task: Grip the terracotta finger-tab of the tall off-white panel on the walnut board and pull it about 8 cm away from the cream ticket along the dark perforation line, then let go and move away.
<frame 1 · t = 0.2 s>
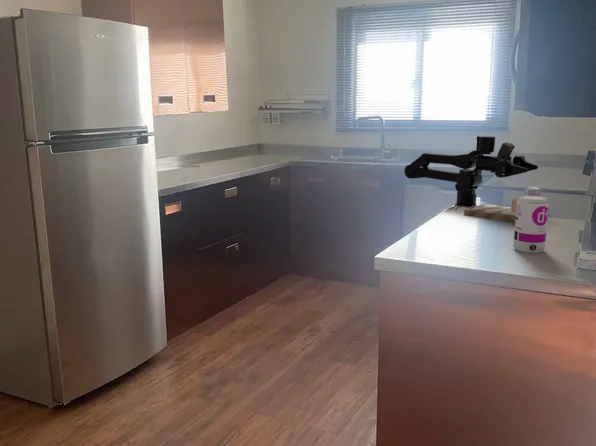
hand: (532, 168, 214), 17 cm above the worktop, tool horizontal, fingers open, 9 cm apart
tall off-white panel: (515, 205, 209), point 5 cm above the worktop, slide at 0.0 cm
supplement can: (528, 250, 167), on the worktop
medicine box: (531, 211, 225), on the worktop
ticket board: (502, 216, 213), on the worktop
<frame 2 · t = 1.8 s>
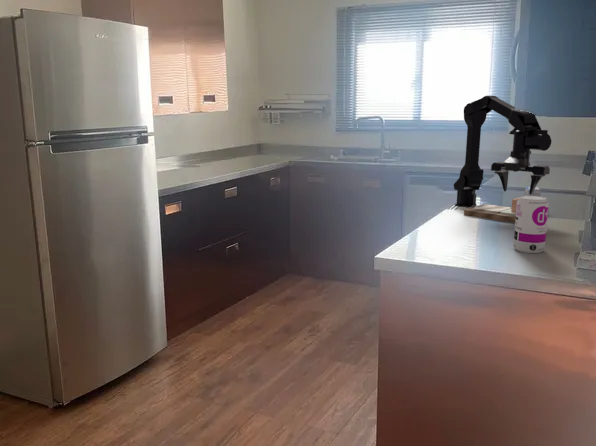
hand: (517, 192, 208), 9 cm above the worktop, tool pointing down, fingers open, 9 cm apart
nothing on the worktop moved.
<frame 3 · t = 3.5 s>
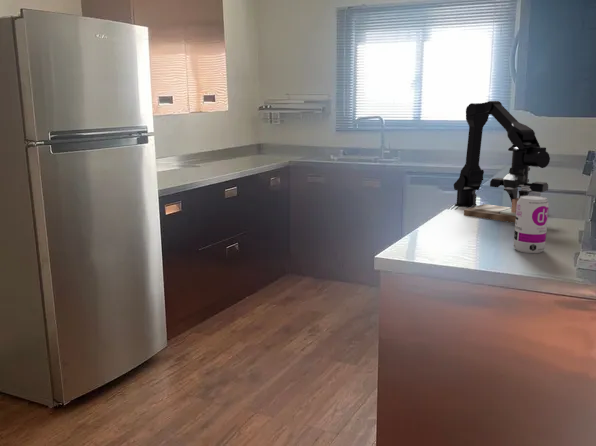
hand: (516, 208, 209), 3 cm above the worktop, tool pointing down, fingers closed on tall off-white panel
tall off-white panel: (515, 205, 209), point 5 cm above the worktop, slide at 0.0 cm, touching gripper
everything else where it was.
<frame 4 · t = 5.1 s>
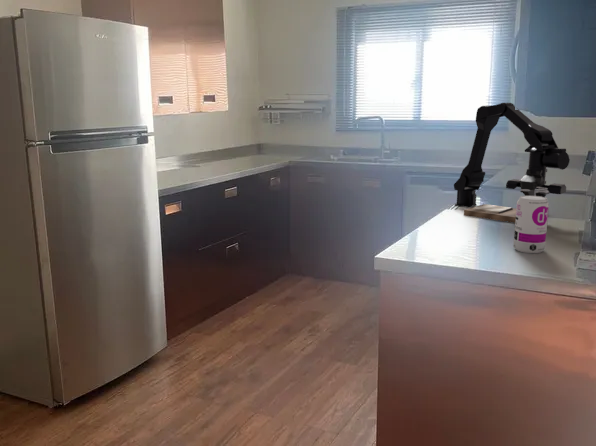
hand: (533, 211, 205), 3 cm above the worktop, tool pointing down, fingers closed on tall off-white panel
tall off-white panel: (532, 207, 205), point 5 cm above the worktop, slide at 5.9 cm, touching gripper
everything else where it was.
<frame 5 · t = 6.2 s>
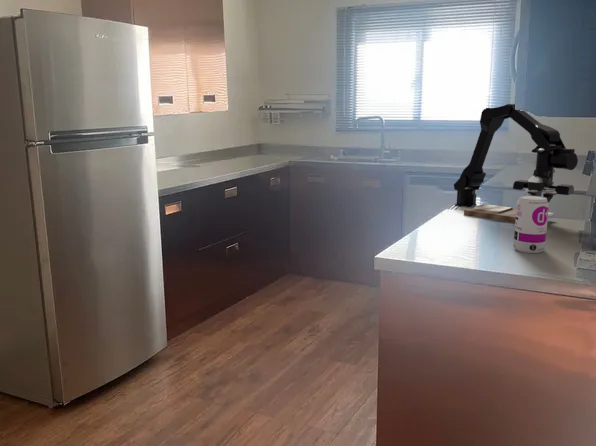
hand: (540, 212, 204), 3 cm above the worktop, tool pointing down, fingers closed on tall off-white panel
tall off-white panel: (539, 208, 204), point 5 cm above the worktop, slide at 8.4 cm, touching gripper
everything else where it was.
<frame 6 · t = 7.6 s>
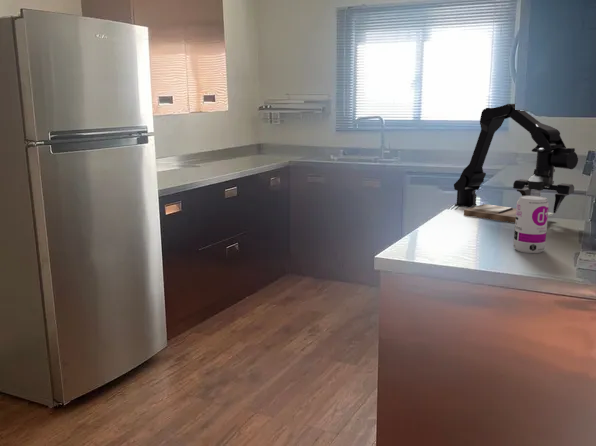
hand: (540, 211, 203), 4 cm above the worktop, tool pointing down, fingers open, 9 cm apart
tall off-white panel: (539, 208, 204), point 5 cm above the worktop, slide at 8.4 cm
everything else where it was.
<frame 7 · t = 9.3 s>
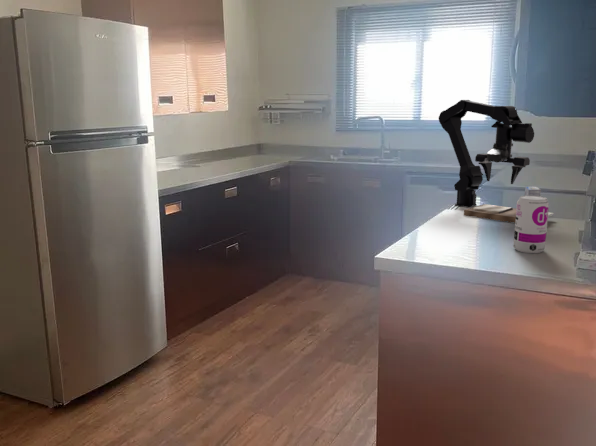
hand: (499, 182, 221), 11 cm above the worktop, tool pointing down, fingers open, 9 cm apart
nothing on the worktop moved.
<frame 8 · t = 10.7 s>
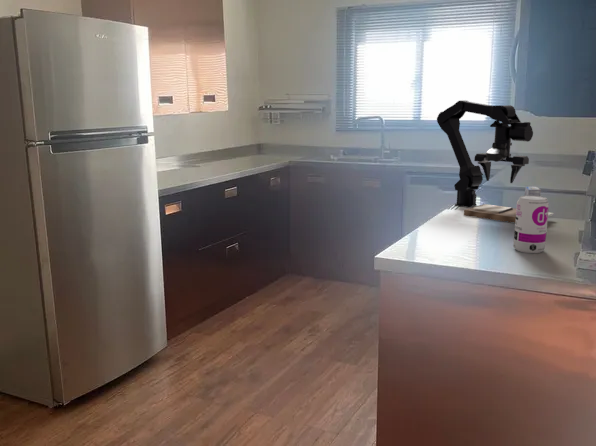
hand: (499, 181, 221), 11 cm above the worktop, tool pointing down, fingers open, 9 cm apart
nothing on the worktop moved.
at the end: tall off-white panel slide at 8.4 cm; the gripper is holding nothing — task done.
